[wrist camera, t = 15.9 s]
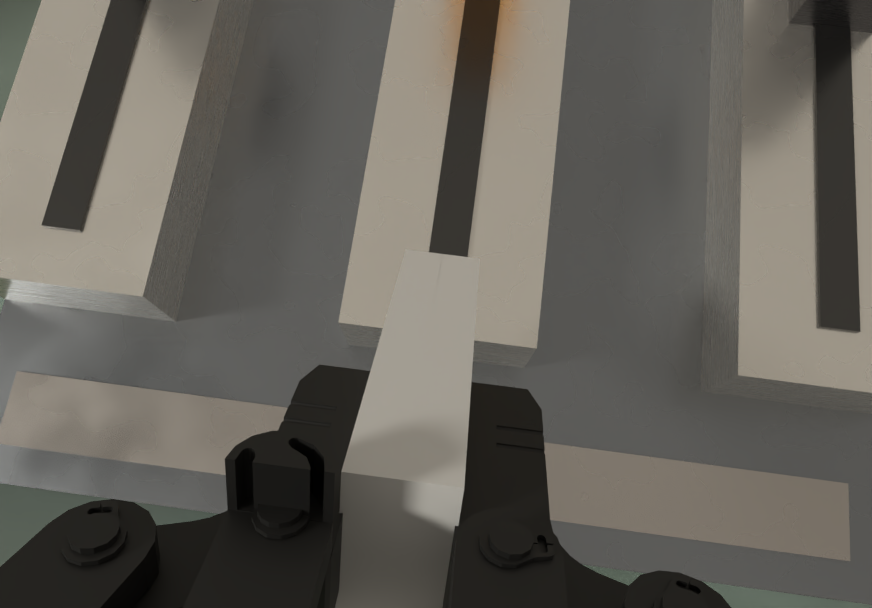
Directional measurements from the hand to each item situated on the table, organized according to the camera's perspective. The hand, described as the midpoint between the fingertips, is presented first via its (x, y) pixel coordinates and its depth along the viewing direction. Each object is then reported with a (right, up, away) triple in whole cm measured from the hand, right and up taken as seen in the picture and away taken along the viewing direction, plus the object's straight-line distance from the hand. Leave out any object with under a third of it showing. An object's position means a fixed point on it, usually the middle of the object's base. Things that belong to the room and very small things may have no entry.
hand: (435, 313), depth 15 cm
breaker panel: (+1, +5, +9) cm, 11 cm away
